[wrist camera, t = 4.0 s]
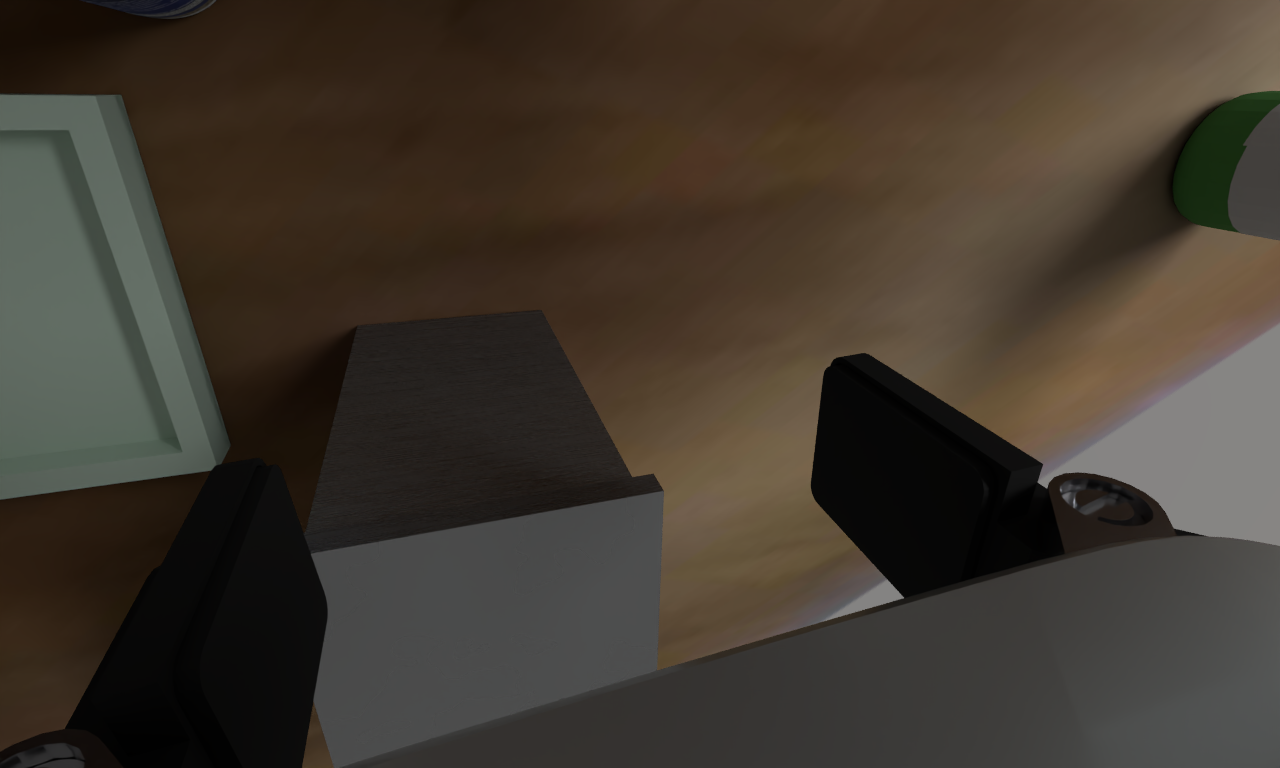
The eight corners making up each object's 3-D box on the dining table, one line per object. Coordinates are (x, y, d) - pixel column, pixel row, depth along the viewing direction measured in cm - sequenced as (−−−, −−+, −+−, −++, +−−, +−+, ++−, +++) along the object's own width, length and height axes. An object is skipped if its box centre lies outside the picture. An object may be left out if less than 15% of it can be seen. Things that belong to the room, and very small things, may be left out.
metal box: (551, 301, 29) (667, 490, 16) (562, 521, 35) (654, 802, 21) (345, 317, 27) (269, 560, 13) (392, 552, 32) (373, 893, 19)
